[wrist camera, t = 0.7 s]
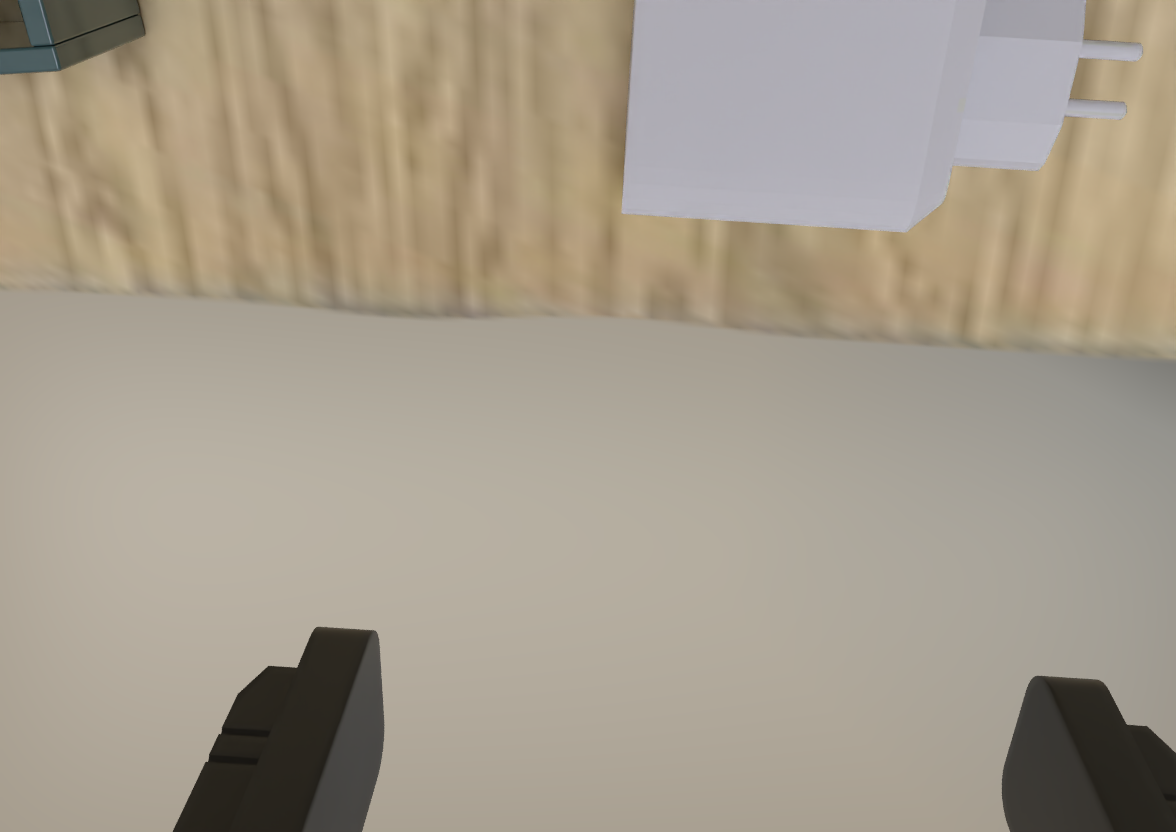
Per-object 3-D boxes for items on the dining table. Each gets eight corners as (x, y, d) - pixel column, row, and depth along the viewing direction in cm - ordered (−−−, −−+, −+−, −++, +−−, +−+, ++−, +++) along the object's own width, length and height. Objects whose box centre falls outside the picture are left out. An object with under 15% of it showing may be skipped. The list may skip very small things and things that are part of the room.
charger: (1067, 207, 38) (622, 178, 38) (1145, -93, 33) (642, -123, 34) (1118, 254, 34) (619, 222, 34) (1215, -81, 29) (641, -115, 30)
